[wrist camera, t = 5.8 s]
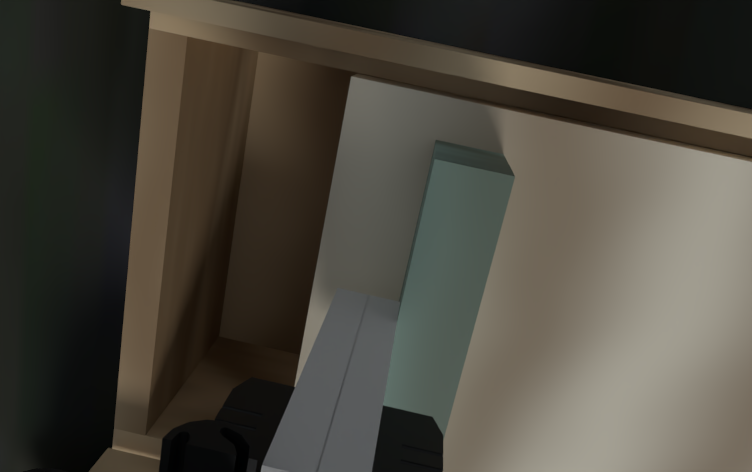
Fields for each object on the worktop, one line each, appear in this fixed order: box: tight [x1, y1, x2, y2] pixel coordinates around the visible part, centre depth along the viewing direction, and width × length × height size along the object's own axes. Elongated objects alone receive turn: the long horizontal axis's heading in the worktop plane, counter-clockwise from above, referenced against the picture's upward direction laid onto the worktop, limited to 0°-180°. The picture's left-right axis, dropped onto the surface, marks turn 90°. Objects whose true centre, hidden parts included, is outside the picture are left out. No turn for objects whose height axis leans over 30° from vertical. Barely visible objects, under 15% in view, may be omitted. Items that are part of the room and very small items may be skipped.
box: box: [89, 0, 752, 472], centre depth 21 cm, size 22×14×10 cm, turn 79°
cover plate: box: [294, 74, 752, 472], centre depth 16 cm, size 22×12×4 cm, turn 79°
